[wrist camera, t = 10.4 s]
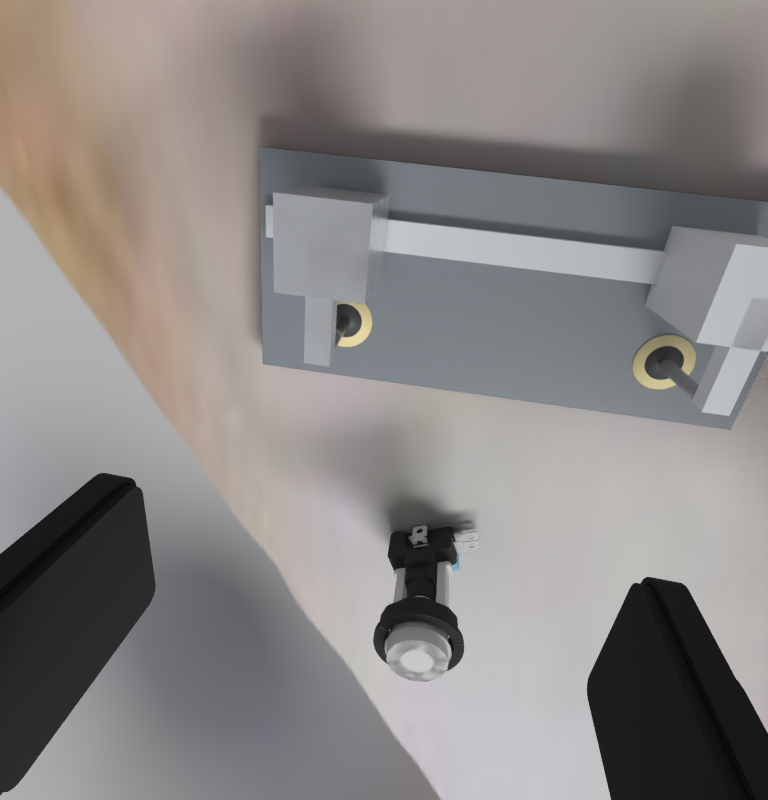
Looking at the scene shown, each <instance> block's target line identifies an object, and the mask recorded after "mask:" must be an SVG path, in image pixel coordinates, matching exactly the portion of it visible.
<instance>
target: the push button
mask: <svg viewBox="0 0 768 800" xmlns="http://www.w3.org/2000/svg"><path fill="white" fill-rule="evenodd" d="M420 529H422V530H423V531H421V532H417V531H418V530H420ZM469 535H473V536H474V537H473V538H469V537H468V536H469ZM478 539H479V537H478V534H477V532H476V531H473V532H467V533H461V532H457V533H454V531H453V529H452V527H444V528H439V529H433V530H427V526H426V525H423V526H417V527H414V528H413V533H410V534H404V533H403V532H402V531H399V532H394V533H392V534H391V538H390V545H389V551H388V558H389V560H390V562H391V565H392V567H393V570H394V576H395V579H396V588H395V596H394V603H392V604H390V605H388V606H387V607H386V608H385V610H384V611H383V613H382V614H381V618H380V622H379V623H378V625H377V626H376V629H375V633H374V639H373V642H374V647H375V650H376V652H377V654H378V655H379V656H380V658H381V659H382V660H383V661H384V662H386V663H387V664H388V666H389V667H390V669H391V670H392V671H394V672H395V673H396V674H397V675H399V676H400V677H403V678H406V679H408V680H411V681H423V682H426V681H430V680H434V679H438V678H440V677H441V676H442V675H443V674H444V673H445V672H446V671H448V670H450V669H452V668H453V667H454V666H456V665H457V664H458V663H459V661H460V660H461V658H462V656H463V653H464V640H463V636H462V634H461V632H460V630H459V629H458V623H457V617H456V615H455V614H454V613H453V612H452V611H451V610H450V609H449V575H451V574H452V573H453V571H455V570H457V569H458V568H459V554H460V553H465V551H469V550H475V549H479V544H478V541H477V540H478ZM471 543H472V544H474V547H469V544H471ZM389 629H390V631H389ZM448 635H449V638H448Z"/></svg>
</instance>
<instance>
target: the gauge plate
mask: <svg viewBox="0 0 768 800" xmlns="http://www.w3.org/2000/svg"><path fill="white" fill-rule="evenodd" d="M309 186H316V187H325V188H334V189H343V190H352V191H361V192H369V193H378V194H387V195H390V204H389V214H388V225H387V236H386V246H385V257H384V267H383V276H382V277H381V279H380V281H379V282H378V284H377V285H376V287H375V289H374V290H373V292H372V294H371V295H370V297H369V298H368V300H367V302H366V303H365V304H358V303H351V302H343V301H337V316H336V322H337V321H338V319H339V318H340V317H343V316H345V317H347V318H348V319H349V320H350V325H349V327H348V328H347V330H346V332H345V333H344V335H343V336H342V338H341V340H340V341H339V343H338V344H337V346H336V348H335V353H334V360H333V362H332V363H331V365H330V367H328V366H321V365H314V364H307V363H304V335H305V297H304V296H297V295H289V294H281V293H274V259H273V192H278V191H285V190H291V189H297V188H303V187H309ZM259 194H260V247H261V299H262V352H263V364H266V365H273V366H280V367H287V368H294V369H301V370H308V371H316V372H323V373H330V374H337V375H344V376H351V377H358V378H365V379H372V380H380V381H387V382H394V383H401V384H408V385H415V386H422V387H429V388H437V389H444V390H451V391H458V392H465V393H472V394H479V395H486V396H494V397H501V398H508V399H515V400H522V401H529V402H536V403H543V404H551V405H558V406H565V407H572V408H579V409H586V410H593V411H600V412H607V413H615V414H622V415H629V416H636V417H643V418H650V419H657V420H664V421H672V422H679V423H686V424H693V425H700V426H707V427H714V428H721V429H729V430H730V429H731V427H732V425H733V423H734V421H735V419H736V417H737V415H738V413H739V411H740V409H741V407H742V405H743V403H744V401H745V398H746V396H747V394H748V392H749V390H750V388H751V386H752V384H753V382H754V380H755V378H756V376H757V374H758V372H759V370H760V368H761V366H762V364H763V362H764V359H765V357H766V355H767V353H768V202H765V201H756V200H746V199H737V198H728V197H719V196H709V195H700V194H691V193H682V192H673V191H663V190H654V189H645V188H636V187H627V186H617V185H608V184H599V183H590V182H580V181H571V180H562V179H553V178H544V177H534V176H525V175H516V174H507V173H497V172H488V171H479V170H470V169H461V168H451V167H442V166H433V165H424V164H415V163H405V162H396V161H387V160H378V159H368V158H359V157H350V156H341V155H332V154H322V153H313V152H304V151H295V150H285V149H276V148H267V147H259Z"/></svg>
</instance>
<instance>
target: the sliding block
mask: <svg viewBox="0 0 768 800" xmlns="http://www.w3.org/2000/svg"><path fill="white" fill-rule="evenodd" d="M389 204H390V195H387V194H378V193H369V192H361V191H352V190H343V189H334V188H325V187H316V186H309V187H303V188H297V189H291V190H285V191H278V192H273V259H274V293H281V294H289V295H297V296H304V297H305V335H304V363H307V364H314V365H321V366H328V367H330V365H331V363H332V362H333V360H334V353H335V348H336V346H337V344H338V343H339V341H340V340H341V338H342V336H343V335H344V333H345V332H346V330H347V328H348V327H349V325H350V320H349V319H348V318H347V317H345V316H343V317H340V318H339V319H338V321H337V322H336V316H337V301H343V302H351V303H358V304H365V303H366V302H367V300H368V298H369V297H370V295H371V294H372V292H373V290H374V289H375V287H376V285H377V284H378V282H379V281H380V279H381V277H382V276H383V267H384V257H385V246H386V236H387V225H388V214H389Z"/></svg>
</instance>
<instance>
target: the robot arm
mask: <svg viewBox="0 0 768 800" xmlns="http://www.w3.org/2000/svg"><path fill="white" fill-rule="evenodd" d="M154 592H155V579H154V571H153V564H152V557H151V549H150V542H149V536H148V529H147V521H146V514H145V507H144V499H143V493H142V490H141V489H140V488H139V487H136V483H135V481H134V480H133V479H131V478H128V477H122V476H117V475H112V474H107V473H101V474H98V475H96V476H95V477H93V478H92V479H91V480H90V481H89V482H87V483H86V484H85V485H84V486H82V487H81V488H80V489H79V490H78V491H76V492H75V493H74V494H73V495H72V496H70V497H69V498H68V499H67V500H66V501H64V502H63V503H62V504H61V505H59V506H58V507H57V508H56V509H55V510H53V511H52V512H51V513H50V514H48V516H46V517H45V518H44V519H43V520H41V521H40V522H39V523H38V524H36V525H35V526H34V527H33V528H32V529H30V530H29V531H28V532H27V533H25V534H24V535H23V536H22V537H21V538H19V539H18V540H17V541H16V542H15V543H13V544H12V545H11V546H10V547H9V548H7V549H6V550H5V551H4V552H2V553H1V554H0V795H1V794H2V793H3V792H8V791H10V790H11V789H13V788H14V787H15V786H16V785H17V784H18V783H19V782H20V781H21V779H22V778H23V777H24V776H25V774H26V773H27V771H28V770H29V769H30V767H31V766H32V764H33V763H34V762H35V760H36V759H37V757H38V756H39V755H40V753H41V752H42V751H43V749H44V748H45V747H46V745H47V744H48V743H49V741H50V740H51V738H52V737H53V736H54V734H55V733H56V731H57V730H58V729H59V728H60V726H61V725H62V723H63V722H64V721H65V719H66V718H67V717H68V715H69V714H70V712H71V711H72V710H73V708H74V707H75V706H76V704H77V703H78V702H79V700H80V699H81V697H82V696H83V695H84V693H85V692H86V691H87V689H88V688H89V686H90V685H91V684H92V682H93V681H94V680H95V678H96V677H97V675H98V674H99V673H100V671H101V670H102V669H103V667H104V666H105V665H106V663H107V662H108V660H109V659H110V658H111V656H112V655H113V653H114V652H115V651H116V649H117V648H118V647H119V645H120V644H121V643H122V641H123V640H124V639H125V637H126V636H127V634H128V633H129V632H130V630H131V629H132V628H133V626H134V625H135V623H136V622H137V621H138V619H139V618H140V617H141V615H142V614H143V613H144V611H145V610H146V608H147V607H148V606H149V604H150V602H151V600H152V598H153V596H154ZM587 696H588V701H589V706H590V710H591V714H592V719H593V723H594V727H595V732H596V736H597V740H598V744H599V749H600V753H601V757H602V762H603V766H604V770H605V775H606V779H607V783H608V788H609V792H610V796H611V800H768V733H767V731H766V730H765V728H764V726H763V724H762V722H761V720H760V718H759V717H758V715H757V713H756V711H755V709H754V707H753V705H752V703H751V702H750V700H749V698H748V696H747V694H746V692H745V691H744V689H743V688H742V686H741V685H740V683H739V682H738V681H737V680H736V678H735V676H734V674H733V673H732V671H731V669H730V667H729V665H728V663H727V661H726V659H725V658H724V656H723V654H722V652H721V650H720V648H719V646H718V644H717V643H716V641H715V639H714V637H713V635H712V633H711V631H710V629H709V627H708V626H707V624H706V622H705V620H704V618H703V616H702V614H701V612H700V611H699V609H698V607H697V605H696V603H695V601H694V599H693V597H692V596H691V594H690V592H689V590H688V589H687V587H686V586H685V585H683V584H682V583H678V582H673V581H667V580H662V579H657V578H652V577H646V578H645V579H643V581H642V582H641V584H638V583H634V584H633V585H632V586H631V588H630V590H629V592H628V594H627V596H626V598H625V600H624V603H623V605H622V607H621V609H620V611H619V613H618V615H617V618H616V620H615V622H614V624H613V626H612V628H611V630H610V633H609V635H608V637H607V639H606V641H605V643H604V645H603V648H602V650H601V652H600V654H599V656H598V658H597V660H596V663H595V665H594V667H593V669H592V671H591V673H590V675H589V678H588V683H587Z"/></svg>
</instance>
